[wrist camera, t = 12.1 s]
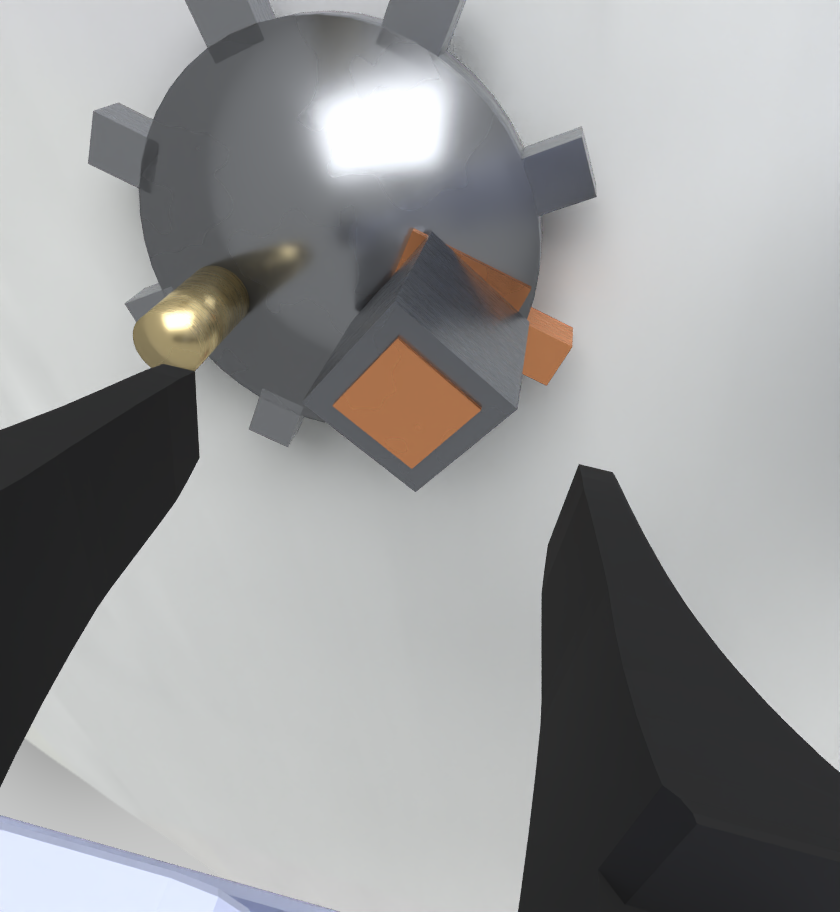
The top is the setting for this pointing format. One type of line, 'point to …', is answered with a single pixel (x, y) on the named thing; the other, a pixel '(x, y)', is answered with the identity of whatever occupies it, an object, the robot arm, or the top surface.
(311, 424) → the top surface
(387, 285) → the cube with orange inset
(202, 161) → the sprocket
